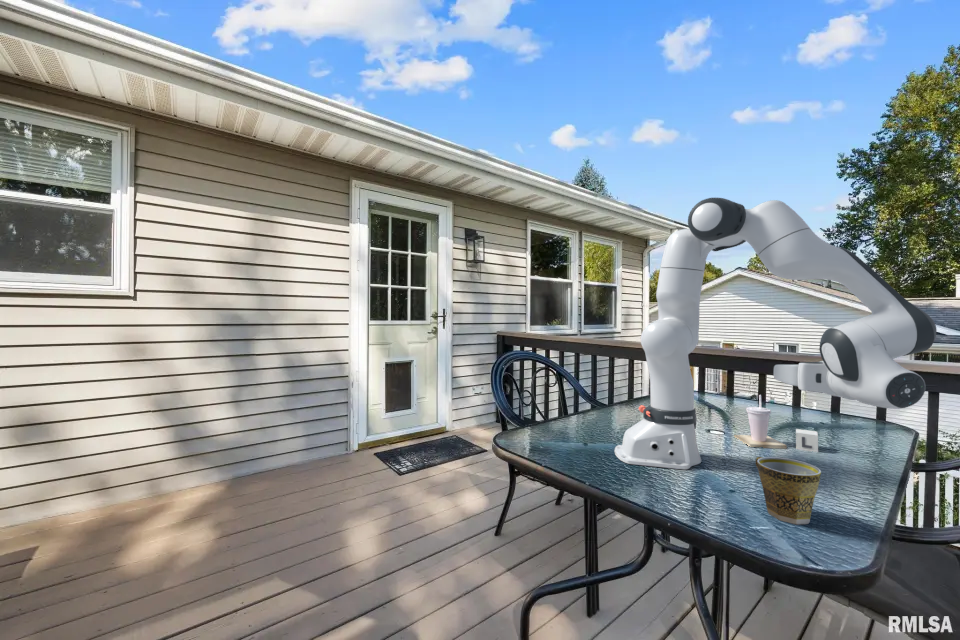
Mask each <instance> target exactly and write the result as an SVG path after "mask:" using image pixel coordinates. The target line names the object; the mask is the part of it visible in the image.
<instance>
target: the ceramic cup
mask: <svg viewBox="0 0 960 640" xmlns="http://www.w3.org/2000/svg"><path fill="white" fill-rule="evenodd" d="M755 465H756V468H757V471H758V476H759V479H760V482H761V486H762V491H763V496H764V500H765V505H766V510H767V511H766V512H767V513H768V515H770V516H771V517H773V518H775V519H777V520H778V521H781V522H785V523H789V524H793V525H809V523H810V522H811V516H812V511H813V506H814V502H815V497H816V495H817V492H818V489H819V485H820V481H821V475H822V471H821V469H820V468H818V467H817V466H815V465H814V464H810V463H807V462H805V461H800V460H797V459H793V458H792V459H791V458H788V457H787V458H786V457H779V456H766V457H763V456H758V457H756V459H755Z"/></svg>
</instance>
